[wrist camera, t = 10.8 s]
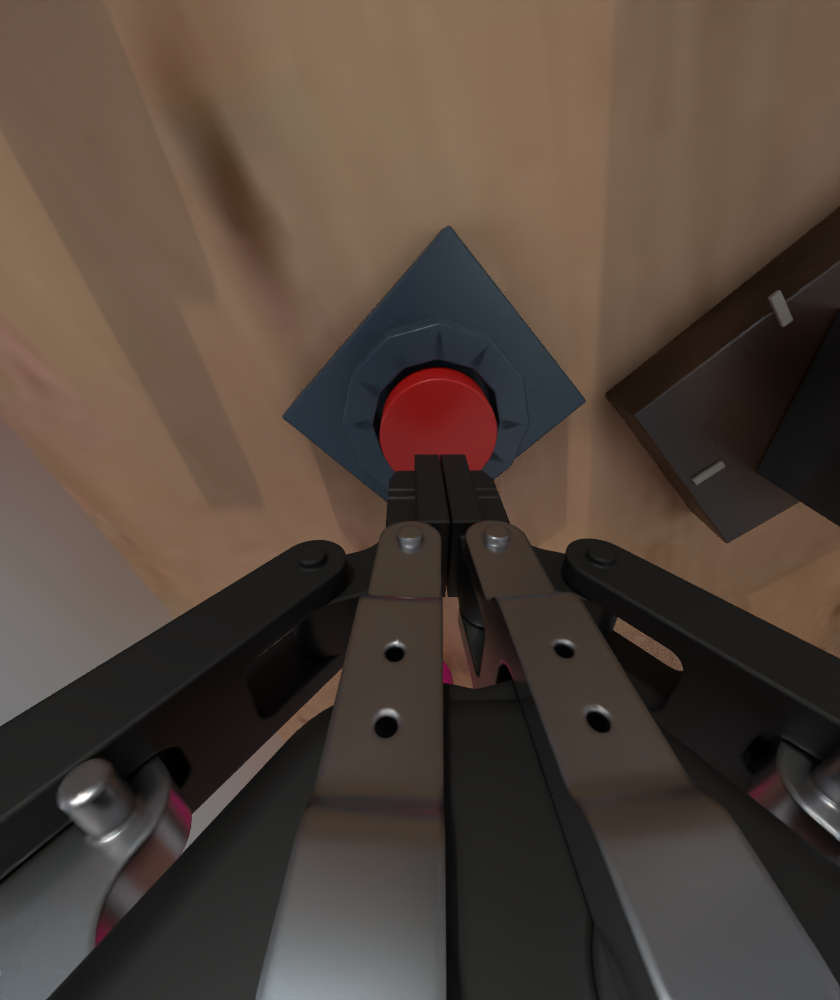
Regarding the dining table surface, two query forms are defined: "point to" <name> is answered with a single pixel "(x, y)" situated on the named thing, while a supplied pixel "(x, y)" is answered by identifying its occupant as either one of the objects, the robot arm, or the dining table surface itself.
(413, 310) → the button box
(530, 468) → the dining table surface
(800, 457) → the selector knob handle
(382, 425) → the button
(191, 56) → the dining table surface
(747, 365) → the switch base
